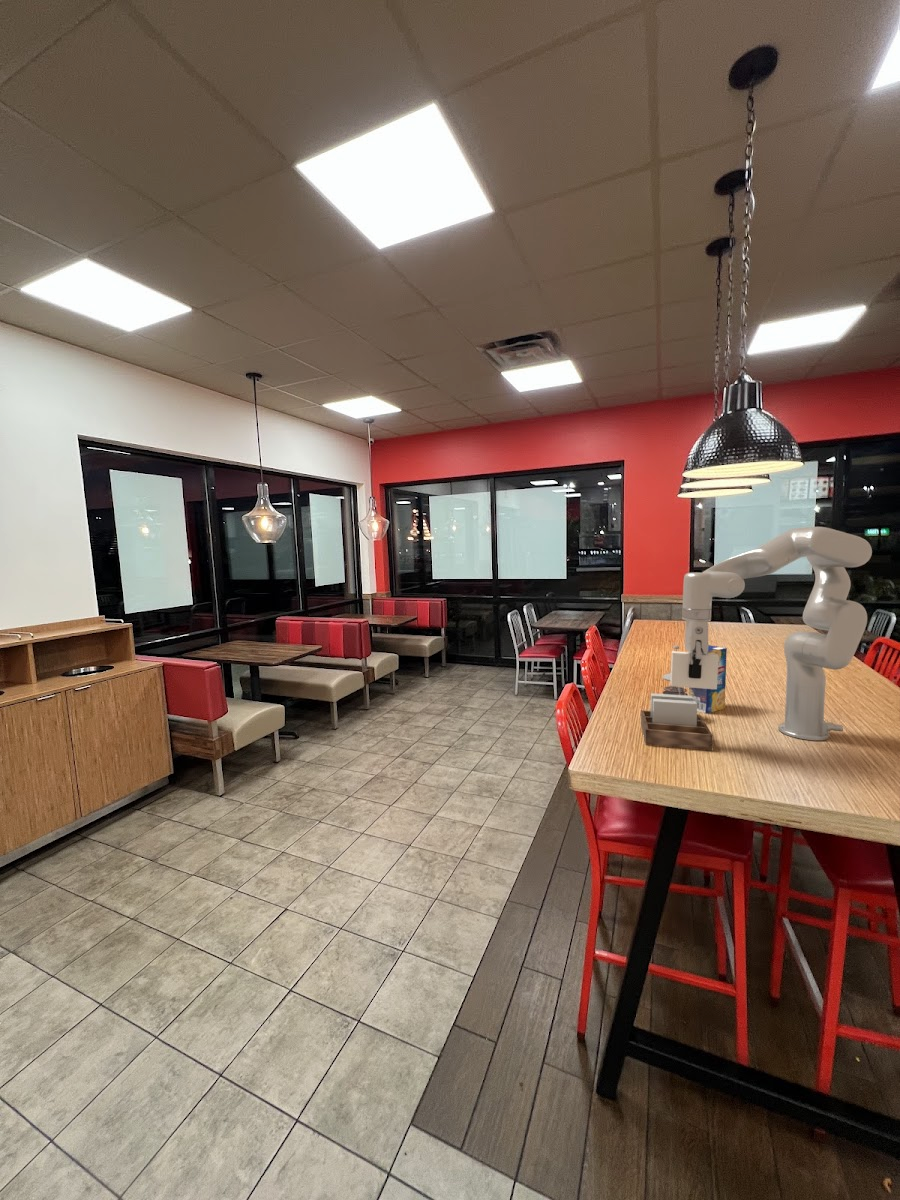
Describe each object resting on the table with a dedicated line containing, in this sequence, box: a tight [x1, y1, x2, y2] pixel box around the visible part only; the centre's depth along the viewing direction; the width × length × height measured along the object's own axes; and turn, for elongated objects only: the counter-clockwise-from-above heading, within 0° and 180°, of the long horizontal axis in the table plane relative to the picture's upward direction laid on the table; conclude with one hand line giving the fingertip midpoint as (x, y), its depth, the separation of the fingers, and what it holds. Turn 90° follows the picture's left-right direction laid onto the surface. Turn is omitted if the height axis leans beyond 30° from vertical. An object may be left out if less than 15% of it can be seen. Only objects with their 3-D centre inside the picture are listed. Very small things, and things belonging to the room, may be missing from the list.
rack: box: [640, 710, 714, 752], centre depth 146 cm, size 18×18×4 cm
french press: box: [661, 644, 689, 696], centre depth 161 cm, size 10×12×25 cm
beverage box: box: [688, 644, 728, 714], centre depth 170 cm, size 7×11×22 cm, turn 120°
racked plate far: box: [650, 693, 694, 717], centre depth 151 cm, size 12×3×10 cm, turn 72°
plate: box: [669, 650, 719, 689], centre depth 140 cm, size 12×3×10 cm, turn 72°
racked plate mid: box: [652, 699, 698, 726], centre depth 145 cm, size 12×3×10 cm, turn 72°
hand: (693, 676), depth 140 cm, fingers closed on plate, 2 cm apart
